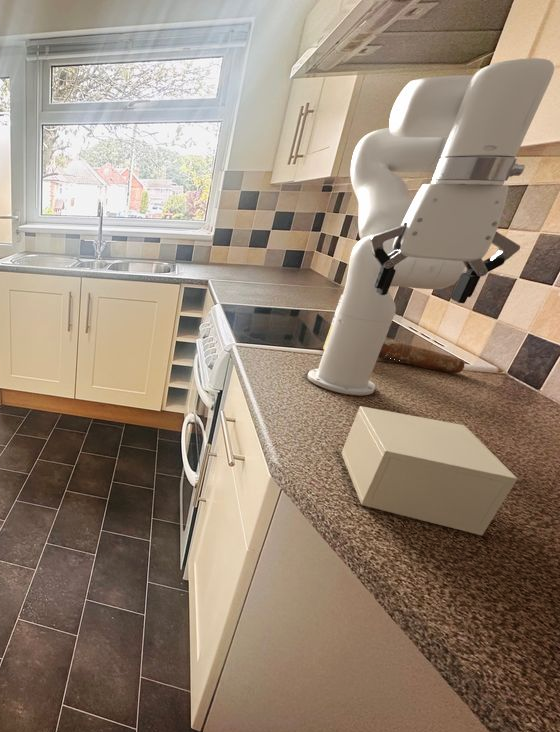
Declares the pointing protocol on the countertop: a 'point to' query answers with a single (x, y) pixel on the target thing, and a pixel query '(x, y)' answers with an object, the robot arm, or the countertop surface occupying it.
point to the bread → (419, 356)
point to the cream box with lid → (425, 470)
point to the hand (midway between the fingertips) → (417, 297)
